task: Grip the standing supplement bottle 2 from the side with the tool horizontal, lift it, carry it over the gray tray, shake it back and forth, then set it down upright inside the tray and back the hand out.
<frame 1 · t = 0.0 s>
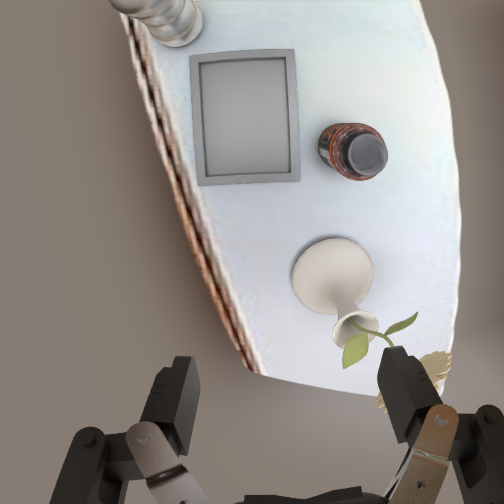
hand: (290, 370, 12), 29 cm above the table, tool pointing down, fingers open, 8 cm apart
supplement bottle 2: (339, 146, 36), on the table
flower in vase: (336, 270, 43), on the table
plastic bottle: (181, 28, 31), on the table
gray tray: (245, 116, 35), on the table
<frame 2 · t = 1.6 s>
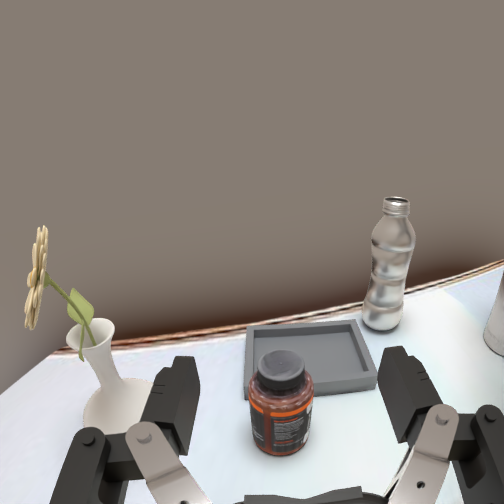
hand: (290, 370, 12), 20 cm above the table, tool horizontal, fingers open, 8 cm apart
supplement bottle 2: (280, 436, 29), on the table
flower in vase: (132, 429, 30), on the table
plastic bottle: (379, 324, 46), on the table
gray tray: (306, 363, 40), on the table
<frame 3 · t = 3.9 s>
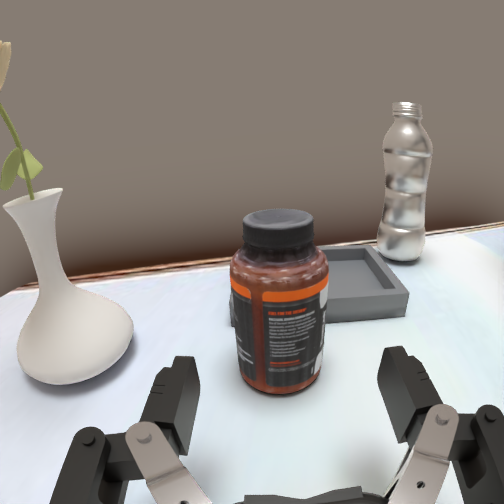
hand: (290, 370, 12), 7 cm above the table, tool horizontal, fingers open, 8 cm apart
supplement bottle 2: (280, 370, 22), on the table
flower in vase: (77, 359, 22), on the table
plastic bottle: (398, 258, 38), on the table
gray tray: (313, 290, 32), on the table
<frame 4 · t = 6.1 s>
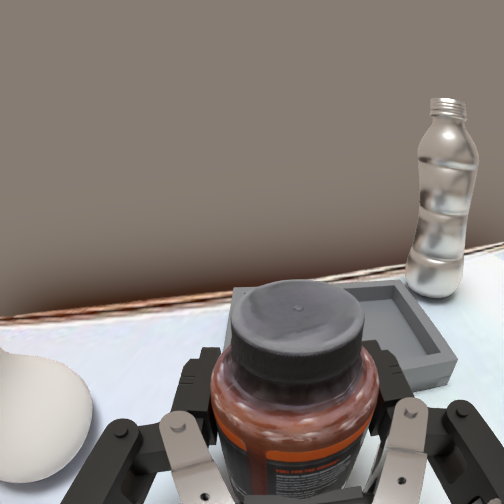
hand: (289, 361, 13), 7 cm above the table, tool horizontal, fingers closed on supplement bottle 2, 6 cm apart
supplement bottle 2: (288, 481, 13), on the table, touching gripper
flower in vase: (32, 440, 14), on the table
plastic bottle: (429, 292, 30), on the table
gray tray: (330, 347, 24), on the table
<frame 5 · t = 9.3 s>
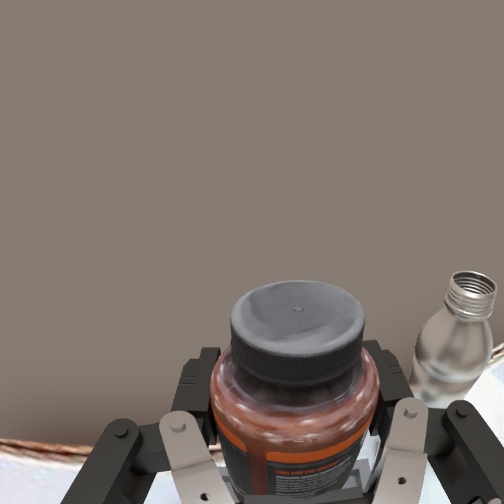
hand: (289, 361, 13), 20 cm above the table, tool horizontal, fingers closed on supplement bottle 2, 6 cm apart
supplement bottle 2: (288, 481, 13), point 12 cm above the table, touching gripper
plastic bottle: (403, 450, 24), on the table
when the fingers open (9 cm above the table, at t = 12.4 s): supplement bottle 2 drops 1 cm, resting on gray tray.
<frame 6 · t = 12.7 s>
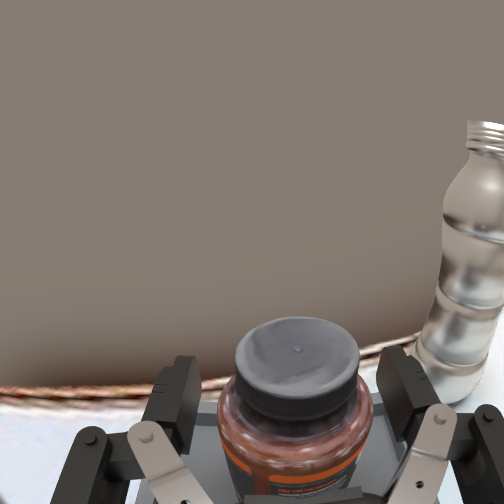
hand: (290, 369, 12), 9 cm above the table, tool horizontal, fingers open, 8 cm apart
supplement bottle 2: (290, 491, 14), point 1 cm above the table, touching gray tray
plastic bottle: (436, 388, 20), on the table
gray tray: (286, 495, 14), on the table
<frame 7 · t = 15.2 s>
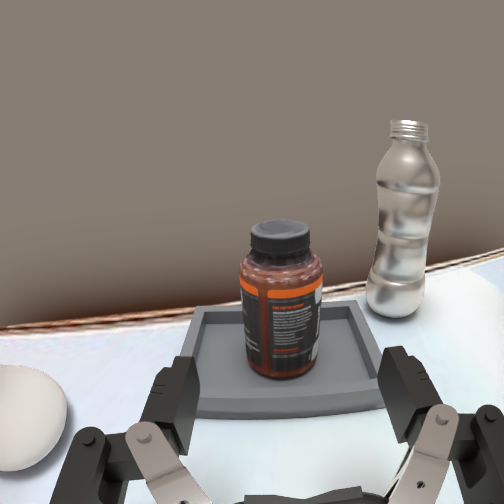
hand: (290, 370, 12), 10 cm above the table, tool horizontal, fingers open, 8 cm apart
supplement bottle 2: (281, 358, 25), point 1 cm above the table, touching gray tray
flower in vase: (19, 437, 16), on the table
plastic bottle: (391, 310, 32), on the table
gray tray: (279, 364, 26), on the table
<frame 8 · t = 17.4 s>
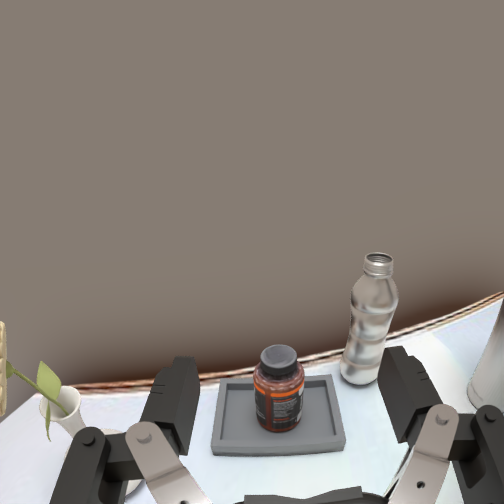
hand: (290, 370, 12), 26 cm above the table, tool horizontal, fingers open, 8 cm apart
supplement bottle 2: (278, 417, 37), point 1 cm above the table, touching gray tray
flower in vase: (108, 475, 28), on the table
plastic bottle: (358, 376, 44), on the table
gray tray: (277, 420, 37), on the table
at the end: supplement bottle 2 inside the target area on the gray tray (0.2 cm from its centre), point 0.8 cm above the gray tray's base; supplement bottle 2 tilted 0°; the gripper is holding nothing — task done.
